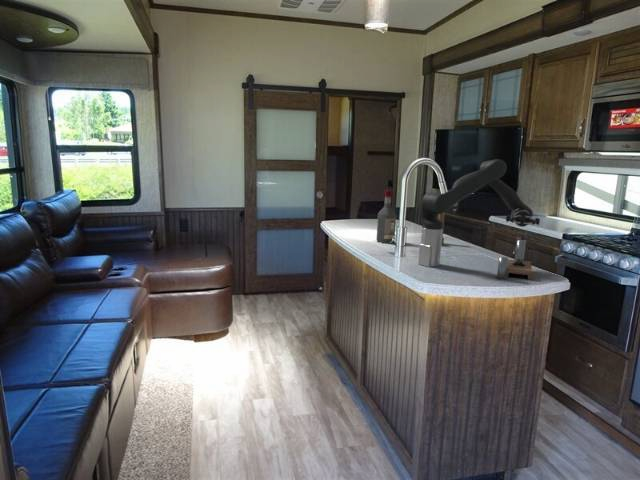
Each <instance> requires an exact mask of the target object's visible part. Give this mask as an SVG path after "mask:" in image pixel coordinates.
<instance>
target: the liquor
mask: <svg viewBox="0 0 640 480" xmlns="http://www.w3.org/2000/svg"><path fill="white" fill-rule="evenodd" d="M392 192H393V191H392V190H391V189H389V190H388V189H386V190H384V205H383V207H382V209H380V210H379V212H378V213H377V223H376V225H377V227H376V242H377V243H380V242H381V243H380V244H386V243H389V244H391V243H390V242H391V241H392V237H393V236H396V223H397V222H396V221H397V220H396V219H397V213H396V212H395V211H394V210H393V208H392Z"/></svg>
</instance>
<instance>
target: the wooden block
mask: <svg viewBox="0 0 640 480" xmlns="http://www.w3.org/2000/svg"><path fill="white" fill-rule="evenodd" d="M445 213H446V212H444V213H442V214H437V218H438V219H439V220H440V221H441V222H442V223H443V229H444V226H445V215H446V214H445ZM444 240H445V238H444V231H443V232H442V243H441V245H443V244H444Z"/></svg>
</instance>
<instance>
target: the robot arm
mask: <svg viewBox="0 0 640 480" xmlns="http://www.w3.org/2000/svg"><path fill="white" fill-rule="evenodd" d="M506 172H507V163H506V161H504V160H502V159H498V158H496V159H491V160H486V161H483V162H482V163H481V164H480V166H479V169H478V170H476V171H472V172H470V173H468V174H465V175H463V176H461V177H459V178H458V179H456V180H455V182H454V183H453V185H452V186H451V187H452V188H451V189H449V190H448V191H446V192H443V193H437V192H436V193H435V192H427V193H426V194H424V196H423V197H422V200H421V204H420V205H421V206H420V207H421V208H420V209H421V211H420V212H421V213H420V216H421V217H420V219H421V220H420V221H421V227H422V228H421V238H420V244H419V248H418V261H417V263H418V265H421V266H425V267H429V268H430V267H439V266H440V265H441V255H442V254H441V251H442V244H441V243H442V232H443V233H444V228H443V223H442V222H441V221H440V220H439V219H438V214H442V213H446V212H447V211H449V210H450V209H451V208H452V207H454V205H456V204H457V203H459V202H460V201H462V200H464V199H465V198H467V197H469V196H471V195H472V194H474V193H475V192H477V191H478V190H480V189H481V188H483V187H485V186H486V185H487V184H488V185H489V186H491V188H492V189H493V190H494V191H495V192H496V193H497V194H498V195H499V196H500V198H501V199H502V201H503V202H504V204H505V205H506V207H507V208H508V209H509V210H510V211H513V210H514V211H513V212H511V213H510V214H507V215H506V218H505V222H506V223H508V222H510V223H512V224H515V225H517V226H518V227H523V228H524V227H526V226H528V225H537V226H539V225H540V220H541V219H540V218H538V217H535V218H534V217H533V216H534V213H533V210H532V208H531V207H529V206H528V205H527V204H526V203H524V202H523V201H522V199H521V198H520V196H519V195H518V193H517V192H516V191H515V190H514V189H513V188H512V187H510V186H509V185H508V184H506V183H505V182H504V181H502V180H501V178H502V177H503V176H504V175H505V173H506Z"/></svg>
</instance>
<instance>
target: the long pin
mask: <svg viewBox="0 0 640 480" xmlns="http://www.w3.org/2000/svg"><path fill="white" fill-rule="evenodd" d="M526 244H527V240H526V239H517V240H516V245H515V247H516V248H515V255H514V260H515V262H514V266H523V262H524V261H525V254H526V253H525V252H526ZM513 274H514V275H516V274H515V273H513ZM517 275H522V274H517Z"/></svg>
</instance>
